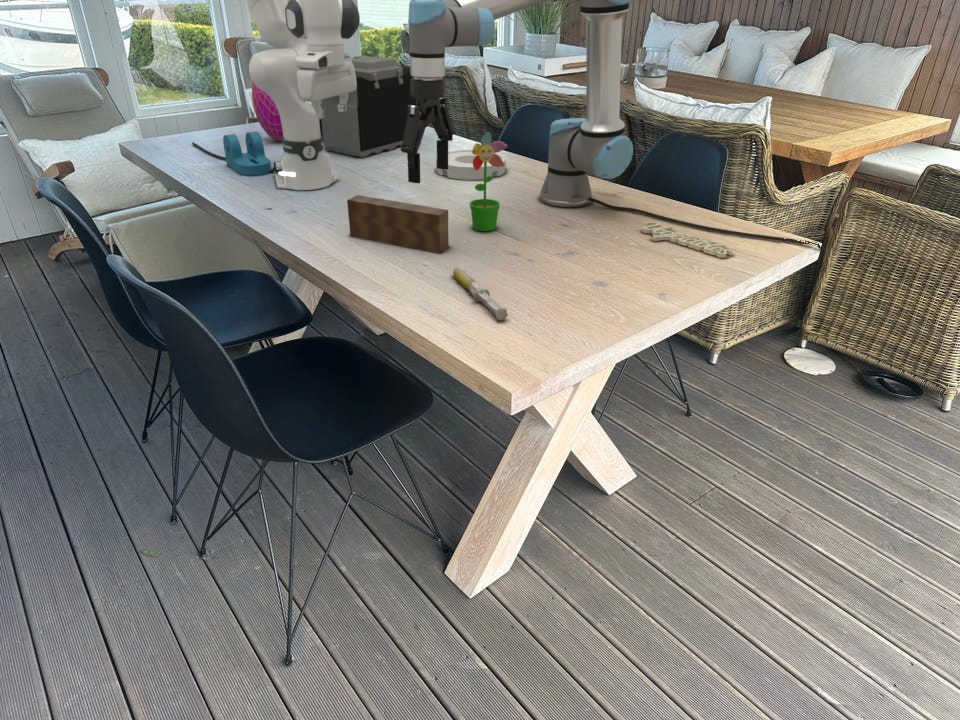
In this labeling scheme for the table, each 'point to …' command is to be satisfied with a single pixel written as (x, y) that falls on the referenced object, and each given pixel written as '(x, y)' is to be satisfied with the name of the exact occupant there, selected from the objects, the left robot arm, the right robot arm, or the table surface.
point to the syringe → (479, 293)
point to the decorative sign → (685, 240)
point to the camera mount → (246, 154)
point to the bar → (398, 223)
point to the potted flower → (485, 208)
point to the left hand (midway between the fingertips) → (331, 114)
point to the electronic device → (369, 109)
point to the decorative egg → (267, 113)
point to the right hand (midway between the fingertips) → (428, 175)
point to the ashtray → (468, 166)
